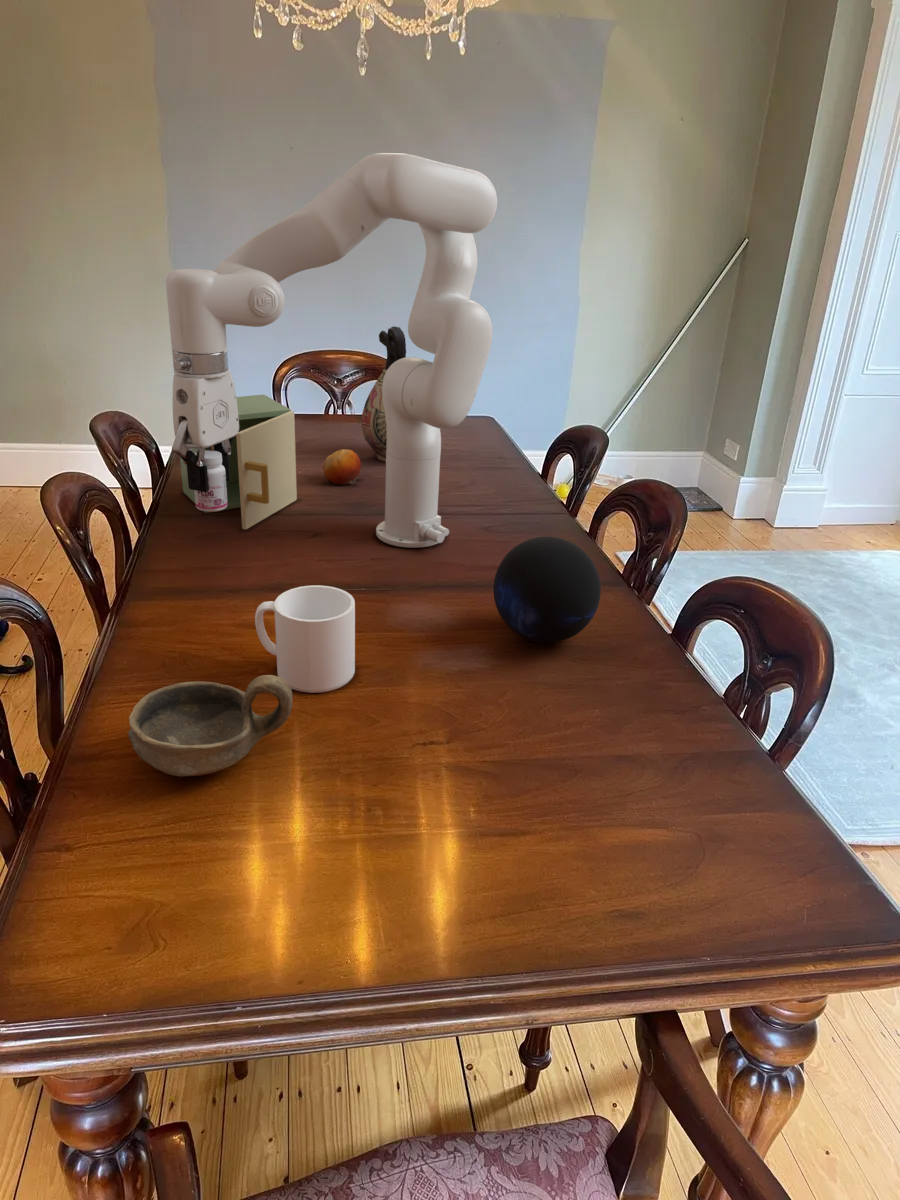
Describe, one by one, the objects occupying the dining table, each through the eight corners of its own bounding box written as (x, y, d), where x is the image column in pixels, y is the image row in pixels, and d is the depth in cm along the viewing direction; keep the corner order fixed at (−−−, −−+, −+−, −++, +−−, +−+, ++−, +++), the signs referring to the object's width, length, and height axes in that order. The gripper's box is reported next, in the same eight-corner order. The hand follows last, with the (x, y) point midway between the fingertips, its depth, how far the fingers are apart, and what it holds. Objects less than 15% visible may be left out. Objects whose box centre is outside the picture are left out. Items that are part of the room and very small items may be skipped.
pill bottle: (195, 513, 126) (190, 459, 122) (195, 502, 130) (191, 449, 126) (228, 511, 127) (224, 458, 123) (227, 501, 131) (223, 448, 127)
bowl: (147, 720, 98) (137, 647, 93) (298, 719, 99) (296, 647, 95) (116, 798, 85) (103, 718, 81) (289, 795, 87) (286, 716, 83)
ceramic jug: (355, 449, 199) (355, 318, 185) (417, 447, 203) (422, 318, 190) (370, 471, 184) (372, 331, 171) (437, 468, 189) (443, 331, 175)
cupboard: (293, 499, 166) (291, 409, 158) (205, 513, 157) (197, 418, 149) (267, 480, 176) (264, 394, 168) (183, 492, 166) (174, 402, 158)
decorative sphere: (614, 640, 121) (629, 545, 114) (548, 674, 112) (560, 573, 105) (535, 602, 131) (545, 513, 124) (468, 631, 121) (475, 536, 114)
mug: (358, 654, 114) (358, 587, 109) (350, 695, 105) (350, 623, 100) (266, 650, 113) (262, 582, 109) (250, 691, 104) (245, 618, 100)
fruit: (367, 482, 173) (347, 449, 170) (335, 499, 175) (315, 466, 172) (371, 470, 180) (352, 438, 177) (340, 487, 182) (321, 455, 179)
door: (315, 503, 164) (313, 414, 156) (265, 534, 149) (260, 437, 141) (293, 499, 166) (290, 410, 158) (242, 529, 151) (235, 433, 143)
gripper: (185, 376, 110) (196, 506, 118) (256, 356, 124) (262, 473, 133) (138, 369, 112) (152, 497, 121) (214, 350, 127) (222, 466, 135)
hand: (210, 483), depth 126 cm, fingers closed on pill bottle, 4 cm apart
